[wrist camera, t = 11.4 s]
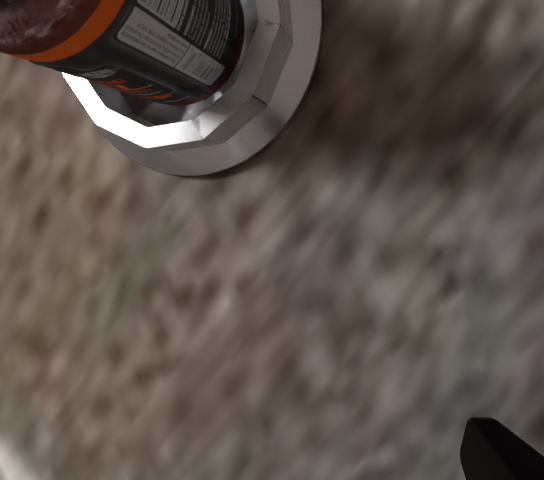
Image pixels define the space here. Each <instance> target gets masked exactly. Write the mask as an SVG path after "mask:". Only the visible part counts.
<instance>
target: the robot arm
mask: <svg viewBox="0 0 544 480" xmlns="http://www.w3.org/2000/svg"><path fill="white" fill-rule="evenodd" d="M460 459H461V464H462V468H463V471H464V474H465V477H466V480H544V456H542V455H541V454H540V453H539V452H537V451H536V450H535V449H533V448H532V447H531V446H530V445H528V444H527V443H526V442H524V441H523V440H522V439H520V438H519V437H518V436H517V435H515V434H514V433H513V432H511V431H510V430H509V429H508V428H506V427H505V426H504V425H502V424H501V423H500V422H498V421H497V420H495V419H493V418H488V417H472V418H470V419H469V420H468V421H467V424H466V428H465V432H464V436H463V440H462V444H461V449H460Z"/></svg>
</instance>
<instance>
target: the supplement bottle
mask: <svg viewBox="0 0 544 480" xmlns="http://www.w3.org/2000/svg"><path fill="white" fill-rule="evenodd" d="M244 33H245V26H244V14H243V8H242V5H241V1H240V0H0V52H2V53H5V54H8V55H11V56H15V57H18V58H22V59H26V60H28V61H30V62H32V63H34V64H37V65H41V66H44V67H48V68H51V69H54V70H56V71H60V72H63V73H65V74H68V75H71V76H74V77H79V78H83V79H86V80H88V81H91V82H94V83H99V84H101V85H104V86H107V87H110V88H113V89H116V90H118V91H122V92H125V93H129V94H132V95H135V96H138V97H140V98H142V99H145V100H149V101H152V102H156V103H159V104H167V105H173V106H183V105H190V104H194V103H197V102H199V101H203V100H206V99H207V98H209V97H210V96H211V95H213V94H214V93H216V92H217V91H218V90H219V89H220V88H221V87H222V85H223V84H224V83H225V82H226V81H227V80H228V79H229V77H230V76H231V74H232V72H233V71H234V69H235V67H236V66H237V63H238V61H239V59H240V55H241V51H242V46H243V43H244Z"/></svg>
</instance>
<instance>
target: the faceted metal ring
mask: <svg viewBox="0 0 544 480" xmlns="http://www.w3.org/2000/svg"><path fill="white" fill-rule="evenodd" d="M240 1H241V5H242V8H243V14H244V26H245V33H244V43H243V46H242V51H241V55H240V59H239V61H238V63H237V66H236V67H235V69H234V71H233V72H232V74H231V76H230V77H229V79H228V80H227V81H226V82H225V83H224V84H223V85H222V87H221V88H220V89H219V90H218V91H217V92H216V93H214V94H213V95H211V96H210V97H209V98H207V99H206V100H203V101H199V102H197V103H194V104H190V105H183V106H173V105H167V104H159V103H156V102H152V101H149V100H145V99H142V98H140V97H138V96H135V95H132V94H129V93H125V92H122V91H118V90H116V89H113V88H110V87H107V86H104V85H101V84H99V83H94V82H91V81H88V80H86V79H83V78H79V77H74V76H71V75H68V74H65V73H63V74H64V77H65V79H66V80H67V82H68V83H69V85H70V86H71V88H72V89H73V91H74V92H75V94H76V95H77V97H78V98H79V100H80V101H81V102H82V104H83V105H84V107H85V108H86V110H87V111H88V113H89V114H90V116H91V118H92V119H93V121H94V123H95V124H96V126H97V127H98V128H99V130H100V131H101V132H102V134H103V135H104V136H105V137H106V138H107V139H108V140H109V141H110V142H111V143H112V144H113V145H114V146H115V147H116V148H117V149H118V150H119V151H121V152H122V153H123V154H124V155H126V156H127V157H128V158H130V159H132V160H133V161H135V162H137V163H139V164H140V165H142V166H145V167H147V168H150V169H152V170H155V171H159V172H162V173H166V174H172V175H182V176H197V175H208V174H213V173H218V172H222V171H225V170H228V169H231V168H234V167H236V166H238V165H240V164H242V163H244V162H246V161H248V160H250V159H251V158H253V157H254V156H256V155H257V154H258V153H260V152H261V151H263V150H264V149H265V148H267V147H268V146H269V145H270V144H271V143H272V142H273V141H274V140H275V139H276V138H277V137H278V136H279V135H280V134H281V133H282V132H283V130H284V129H285V128H286V127H287V126H288V125H289V123H290V122H291V121H292V119H293V117H294V116H295V114H296V113H297V111H298V110H299V108H300V107H301V105H302V103H303V101H304V99H305V97H306V95H307V93H308V91H309V89H310V86H311V83H312V80H313V77H314V74H315V72H316V69H317V64H318V60H319V55H320V51H321V44H322V34H323V5H322V0H240Z"/></svg>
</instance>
